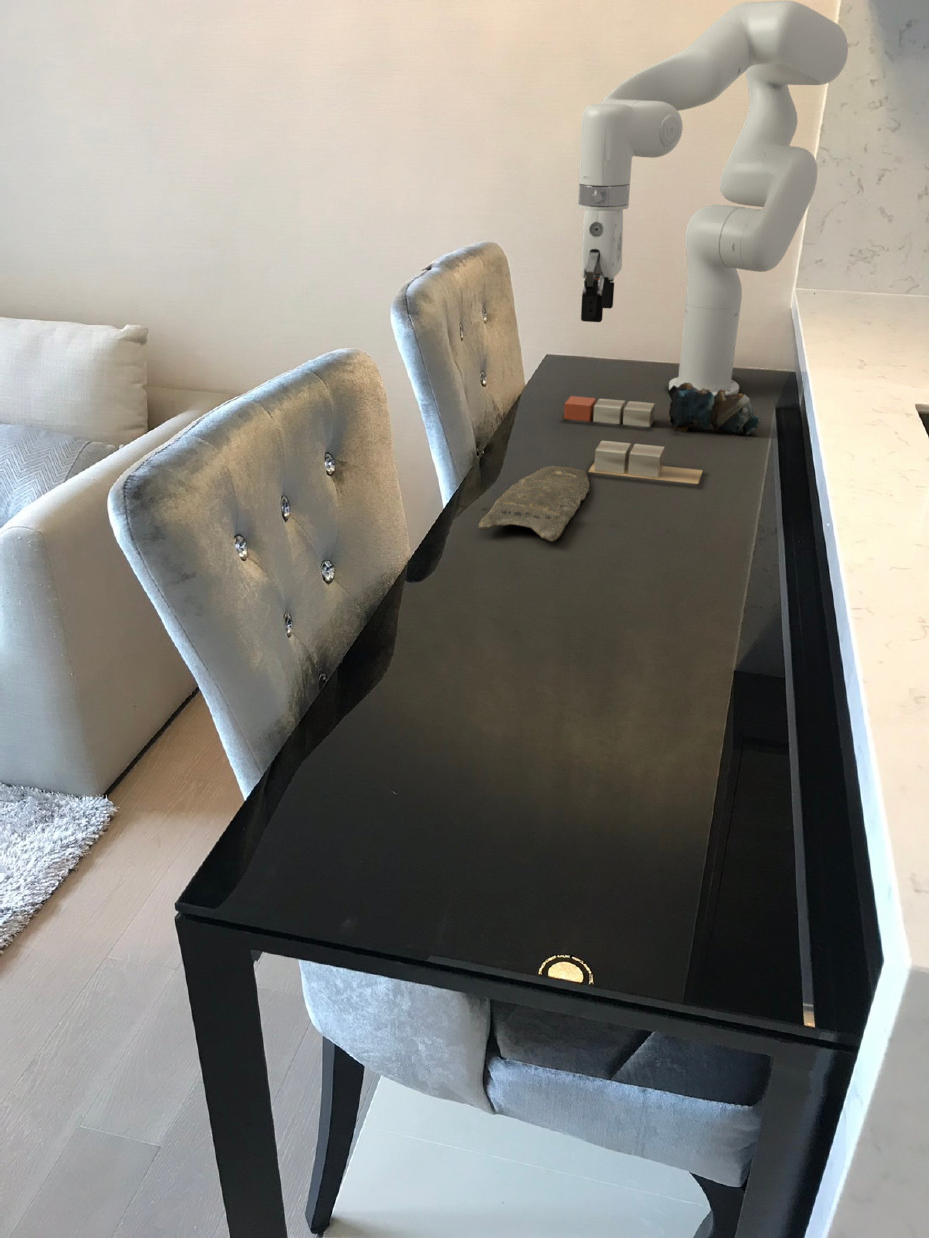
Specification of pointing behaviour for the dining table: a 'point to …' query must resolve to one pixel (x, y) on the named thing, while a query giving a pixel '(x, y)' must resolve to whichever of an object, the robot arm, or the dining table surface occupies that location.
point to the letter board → (665, 474)
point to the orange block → (579, 408)
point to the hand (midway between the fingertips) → (597, 314)
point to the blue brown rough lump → (710, 410)
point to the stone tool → (540, 501)
